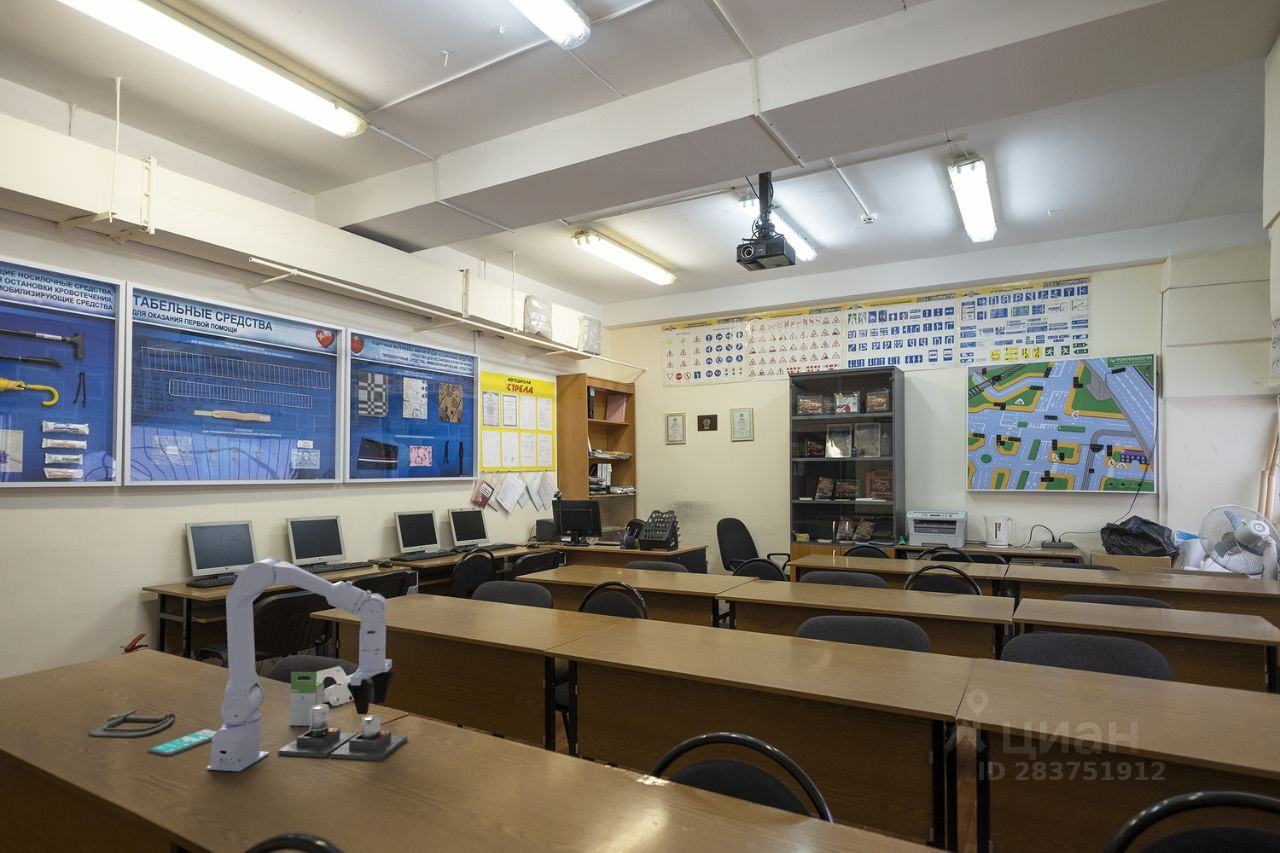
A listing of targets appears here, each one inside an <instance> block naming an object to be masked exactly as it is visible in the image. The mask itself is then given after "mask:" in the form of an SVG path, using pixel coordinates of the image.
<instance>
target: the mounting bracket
mask: <svg viewBox="0 0 1280 853" xmlns="http://www.w3.org/2000/svg"><path fill="white" fill-rule="evenodd" d="M316 672H317V676H316V682H317V683H324V680H325V678H328V677H330V678H333V679H334V681H335V682H336V683H335V684H332V685H330V686H329V687H326V688H324V701H323V704H326V703H328V702H329V703H330V705H331V706H332V707H337V706H341V705H344V704H347V703H351V702H354V701H353V700H354V699H353V696H352V694H351V692H350V691H349V689H348V688H347V685H348V683H349V682H351V676H353V675H354V674H355V672H354V673H352V674H349V675H347V674H346V672H345V671H344V669H343V668H342V667H341V665H339V666H334V667H330V668H327V669H321V670H318V671H316ZM350 697H351V699H350ZM325 702H326V703H325ZM346 702H347V703H346ZM340 704H341V705H340Z"/></svg>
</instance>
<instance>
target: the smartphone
mask: <svg viewBox="0 0 1280 853" xmlns="http://www.w3.org/2000/svg"><path fill="white" fill-rule="evenodd" d="M218 730H220V728H219V729H218V728H214V727H206V728H203V729H200V730H197V731H194V732H191V733H189V734H186V735H183V736H180V737H177V738H175V739H172V740H167V741H166V742H162V743H160V744H157V745H153V746H151V747H149V748H147V753H150V754H154V755H158V756H162V757H172V756H176V755H178V754H181V753H183V752H186V751H187V752H188V751H189V750H192V749H194V748H197V747H200V746H202V745H205V744H208V743H210V742H212V738H213V736H214V734H215V733H216V732H217V731H218Z"/></svg>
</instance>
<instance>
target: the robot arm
mask: <svg viewBox="0 0 1280 853" xmlns="http://www.w3.org/2000/svg"><path fill="white" fill-rule="evenodd" d="M290 585H293V586H296V587H298V588H301V589H304V590H307V591H309V592H311V593H314V594H318V595H320V596H323V597H325V599H326V601H327V604H328V605H330V606H331V607H334V608H337V609H338V610H339V609H340V610H341V611H344V612H346V613H348V614H351V615H353V616H358V619H360V620H359V621H360V628H359V645H358V646H359V647H358V648H359V649H358V650H359V651H358V652H359V654H358V668H357V669H356V671H355V672H354V673H355V674H354V675H353V676H351V682H349V683H348V685H347V688H348V689H349V691H350V692H351V694H352V696H353V699H354V701H353V702H354V706H355V710H356V713H357V715H367V714H368V712H369V707H370V699H371V695H372V691H373V697H374V703H375V704H384V703H385V701H386V699H387V695H388V691H389V687H390V684H391V682H392V679H393V678H394V675H395V674H396V670H395V669H392V665H393V659H389V658H386V649H387V648H386V647H387V646H386V645H387V644H386V643H387V642H386V641H387V638H386V637H387V627H386V623H387V622H386V621H387V620H386V615H385V614H386V612H387V610H388V601H387V600H386V599H387V598H385V596H383V595H382V594H380V593H378V592H377V593H372V591H371V590H369V589H367V590H363V589H361V588H359V587H356V586H354V585H353V582H352V581H350V580H347V581H346V582H345V581H342V580H340V581H338V582H335V583H332V582H331V581H328V580H326V579H324V578H323V577H320V576H318V575H316V574H314V573H312V572H309V571H307V570H305V569H303V568H301V567H299V566H298V565H297V566H296V565H294V564H293V563H290V562H288V561H284V560H282V561H280V559H278V558H275V557H266V558H262V559H261V560H260V561H257V562H253V563H250V564H249V565H248V566H246V567H245V568H244V569H243V570H241V571H240V572H239V573H238V575H237V579H236V580H235V581H234V583H233V584H232V586H231V588H230V589H229V592H228V593H227V594H226V597H225V604H226V605H225V609H226V610H225V611H226V612H225V613H226V632H227V637H226V638H227V660H228V662H227V664H228V680H227V684H226V686H225V689H224V700H223V701H222V704H221V706H220V716H221V718H222V719H223V724H222V726H221V727H220V728H219V730H218V731H217V732H216V733H215V734H214V736H213V738H212V741H211V745H210V747H211V748H210V765H208V766H206V770H212V771H213V770H214V771H228V772H230V771H231V772H241V771H243V770H245V769H246V768H248V767H250V766H251V765H253V764H254V763H257V762H258V761H259V760H261V759H263V758H265V757H266V756H268V755H269V754H270V752H269V751H263V750H262V751H261V731H262V730H261V728H262V726H261V724H262V713H261V712H260V709H259V708H260V706H261V705H262V704H263V703H264V699H265V691H264V688H263V687H262V686H261V682H260V676H259V675H258V673H257V672H256V654H255V653H256V651H255V649H256V648H255V632H254V630H255V629H254V628H255V627H254V607H253V606H254V604H253V602H254V601H255V600H256V599H257V598H258V597H260V595H261V594H262V593H263V592H264V591H265V590H266V589H268V588H271V587H272V586H274V587H275V588H277V587H282V586H290ZM369 679H371V681H372V683H371V682H368V681H367V680H369Z"/></svg>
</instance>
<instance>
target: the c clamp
mask: <svg viewBox="0 0 1280 853" xmlns="http://www.w3.org/2000/svg"><path fill="white" fill-rule="evenodd" d="M136 712H138V710H137V709H133V710H131V711H128V712H125V713H119V714H118V715H116V714H111V715H110V716H109V717H108V718H107V721H106V722H103V723H102V724H99V725H97V726H95V727H93V728H92V729H91V730H90V731H89V733H88V734H89V736H90V737H95V738H128V739H131V738H132V739H133V738H134V739H135V738H143V737H147V736H151V735H154V734H156V733H158V732H161V731H162V730H165V729H166V728H167V727H169V726H170V725H171V724H172V723H173V722H175V720H176V714H175V713H172V712H170V713H167V714H165V715H164V716H159V715H157V716H154V715H153V716H152V715H148V716H147V715H132V714H134V713H136ZM125 722H135V723H138V722H139V723H141V722H142V723H146V722H147V723H157V724H155V725H154V724H153V725H152V726H147V727H142V728H125V727H123V728H121V727H118V728H115V727H117V726H119V725H121V724H123V723H125Z"/></svg>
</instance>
